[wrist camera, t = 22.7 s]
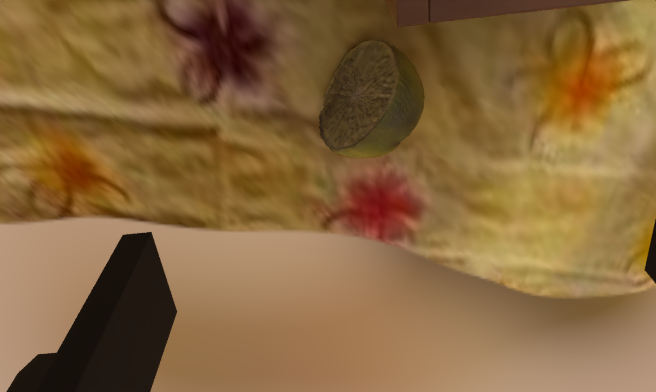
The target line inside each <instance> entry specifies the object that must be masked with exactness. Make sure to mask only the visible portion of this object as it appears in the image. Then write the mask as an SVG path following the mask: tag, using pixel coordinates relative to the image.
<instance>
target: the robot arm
mask: <svg viewBox="0 0 656 392" xmlns="http://www.w3.org/2000/svg"><path fill="white" fill-rule="evenodd" d="M645 271H646V272H647V273H648V275H649V276H650V277H651V278H652V279H653V281H654V282H655V283H656V220H655V224H654V229H653V233H652V238H651V243H650V247H649V252H648V256H647V261H646V266H645ZM176 313H177V310H176V307H175V304H174V301H173V298H172V295H171V291H170V288H169V285H168V282H167V279H166V276H165V273H164V270H163V267H162V263H161V261H160V257H159V254H158V251H157V248H156V245H155V242H154V239H153V236H152V232H147V233H137V234H126V235H123V236H122V237H121V239H120V241H119V243H118V244H117V246H116V248H115V250H114V252H113V253H112V255H111V257H110V259H109V261H108V262H107V264H106V266H105V268H104V269H103V271H102V273H101V275H100V277H99V278H98V280H97V282H96V284H95V286H94V287H93V289H92V291H91V293H90V294H89V296H88V298H87V300H86V302H85V303H84V305H83V307H82V309H81V310H80V312H79V314H78V316H77V318H76V319H75V321H74V323H73V325H72V327H71V328H70V330H69V332H68V334H67V335H66V337H65V339H64V341H63V343H62V344H61V346H60V348H59V350H58V352H57V353H48V354H38V355H37V356H36V357H35V358H34V359H33V360H32V361H31V362H30V363H28V364H27V365H26V366H25V367H24V368H23V369H22V370H21V371H20V372H19V373H18V374H17V375H16V377H15V379H14V380H13V382H12V384H11V386H10V387H9V388H8V390H7V392H150V391H151V388H152V385H153V382H154V379H155V376H156V373H157V370H158V367H159V364H160V361H161V358H162V355H163V352H164V349H165V346H166V343H167V340H168V337H169V334H170V331H171V328H172V325H173V322H174V319H175V316H176Z"/></svg>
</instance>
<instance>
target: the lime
mask: <svg viewBox="0 0 656 392" xmlns="http://www.w3.org/2000/svg"><path fill="white" fill-rule="evenodd" d="M323 106H324V107H323V110H321V113H320V116H319V117H320V118H319V119H320V122H319V123H320V127H319V128H320V130H321V131H320V133H321V134H320V135H321V137H322V139H323V140H324V142H325V144H326V145H327V146H328V147H330V149H331V150H332V151H333V152H335V153H338V154H340V155H343V156H347V157H353V158H373V157H379V156H382V155H385V154H387V153H389V152H391V151H393V150H394V149H395V148H396V147H397V146H398V145H399V144H400V142H401V141H402V140H403V139H405V138H406V137H407V136H409V135H410V133H411V132H412V131H413V129H414V128H415V126H416V125H417V123H418V121H419V119H420V117H421V114H422V111H423V107H424V90H423V85H422V82H421V79H420V76H419V74H418V72H417V70H416V68H415V66H414V65H413V64H412V63H411V61H410V60H409V59H408V58H407V57H406V56H405V54H404V53H402V52H401V51H400V50H399V49H397V48H396V47H395V46H393V45H391V44H389V43H387V42H384V41H380V40H375V39H373V40H369V41H366V42H363V43H360V44H359V45H358V46H356V48H353V49H352V50H351V51H350V52H349V53H348V54H347V55H346V56H345V58H344V59H343V61H342V63H341V65H340V66H339V68H338V69H337V71H336V73H335V75H334V77H333V79H332V81H331V84H330V85H329V87H328V89H327V92H326V95H325V100H324V103H323Z"/></svg>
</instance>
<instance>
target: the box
mask: <svg viewBox="0 0 656 392" xmlns="http://www.w3.org/2000/svg"><path fill="white" fill-rule="evenodd" d="M620 1H629V0H385V2H386V4H387V6H388V8H389V10H390V12H391V14H392V16H393V18H394V20H395V22H396V24H397V26H398V27H402V26H411V25H419V24H427V23H428V22H430V23H436V22H445V21H453V20H462V19H471V18H480V17H489V16H497V15H506V14H515V13H524V12H532V11H541V10H550V9H559V8H567V7H576V6H585V5H594V4H603V3H611V2H620Z"/></svg>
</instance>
